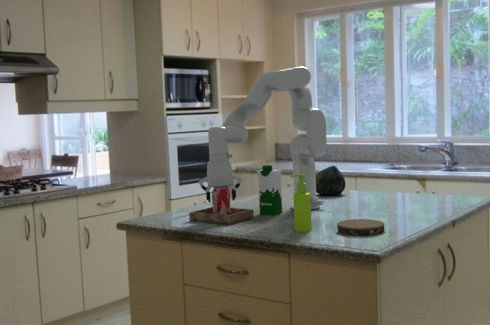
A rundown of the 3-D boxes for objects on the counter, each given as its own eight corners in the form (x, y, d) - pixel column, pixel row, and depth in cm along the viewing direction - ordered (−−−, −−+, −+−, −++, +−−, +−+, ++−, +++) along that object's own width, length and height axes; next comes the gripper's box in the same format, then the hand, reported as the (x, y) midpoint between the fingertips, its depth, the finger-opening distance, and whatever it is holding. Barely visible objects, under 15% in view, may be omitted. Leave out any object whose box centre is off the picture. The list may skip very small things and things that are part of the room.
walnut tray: (253, 218, 247) (253, 209, 247) (228, 225, 234) (228, 216, 234) (215, 214, 259) (215, 206, 259) (189, 220, 247) (189, 212, 246)
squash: (308, 182, 308) (315, 161, 298) (336, 181, 312) (344, 160, 301) (315, 204, 299) (323, 183, 288) (344, 203, 302) (353, 182, 292)
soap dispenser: (290, 229, 222) (288, 173, 220) (309, 228, 222) (307, 172, 221) (293, 232, 216) (291, 175, 214) (312, 231, 217) (311, 174, 215)
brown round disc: (383, 227, 221) (382, 218, 220) (385, 236, 205) (385, 227, 205) (337, 227, 223) (337, 219, 223) (337, 237, 208) (336, 228, 207)
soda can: (228, 218, 243) (227, 188, 242) (211, 218, 244) (209, 188, 243) (232, 215, 250) (231, 185, 248) (215, 215, 251) (214, 186, 250)
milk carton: (256, 214, 255) (254, 166, 253) (266, 210, 262) (264, 163, 261) (276, 215, 250) (274, 166, 249) (285, 211, 258) (283, 164, 257)
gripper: (239, 155, 249) (241, 198, 251) (196, 158, 247) (199, 201, 249) (242, 157, 242) (244, 200, 244) (197, 160, 240) (200, 203, 241)
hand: (221, 200), depth 246 cm, fingers open, 9 cm apart
